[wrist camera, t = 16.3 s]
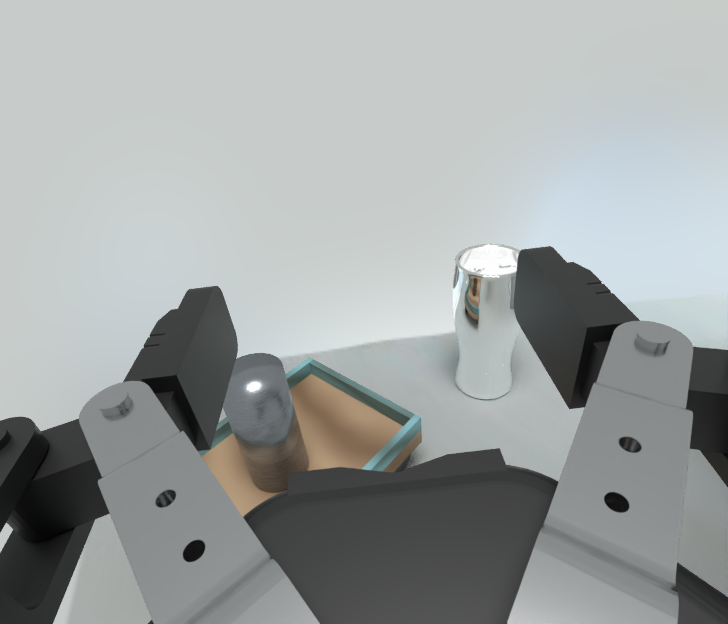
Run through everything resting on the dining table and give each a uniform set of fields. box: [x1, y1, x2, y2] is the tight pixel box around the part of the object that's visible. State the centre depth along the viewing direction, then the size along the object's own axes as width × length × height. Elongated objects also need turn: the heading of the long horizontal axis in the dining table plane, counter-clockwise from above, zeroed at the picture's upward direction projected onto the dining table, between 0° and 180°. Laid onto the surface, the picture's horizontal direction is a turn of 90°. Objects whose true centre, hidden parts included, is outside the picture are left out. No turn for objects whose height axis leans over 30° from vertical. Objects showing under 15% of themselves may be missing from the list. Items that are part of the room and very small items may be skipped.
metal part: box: [223, 353, 309, 492], centre depth 34 cm, size 5×5×10 cm
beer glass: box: [452, 244, 521, 399], centre depth 45 cm, size 7×7×15 cm
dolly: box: [198, 357, 422, 516], centre depth 38 cm, size 20×14×6 cm
